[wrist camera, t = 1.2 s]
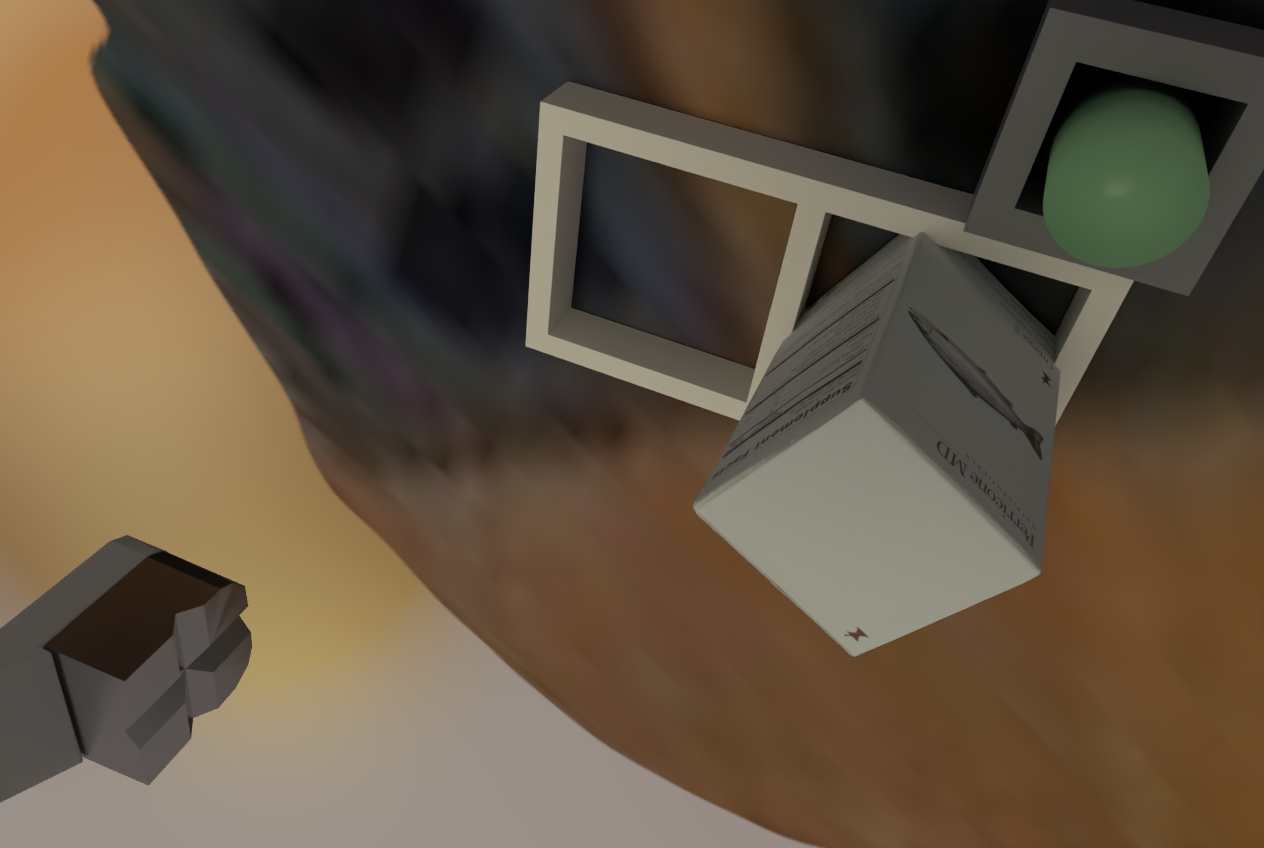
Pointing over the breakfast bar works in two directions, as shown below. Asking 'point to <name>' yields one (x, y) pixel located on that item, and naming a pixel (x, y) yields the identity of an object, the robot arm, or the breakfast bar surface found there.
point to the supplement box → (895, 448)
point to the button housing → (1148, 48)
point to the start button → (1126, 175)
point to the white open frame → (819, 194)
